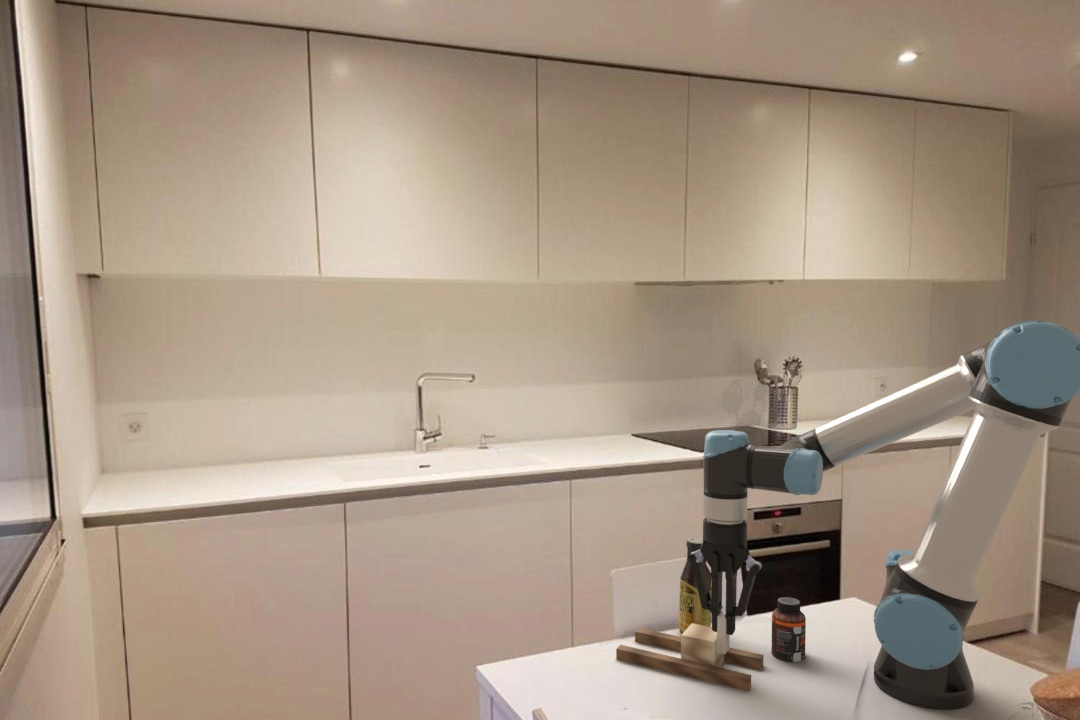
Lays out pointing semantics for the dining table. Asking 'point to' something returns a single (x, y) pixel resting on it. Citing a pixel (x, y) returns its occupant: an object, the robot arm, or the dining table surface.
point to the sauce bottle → (692, 592)
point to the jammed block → (701, 645)
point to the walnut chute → (686, 666)
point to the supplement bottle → (788, 631)
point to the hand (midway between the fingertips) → (723, 650)
